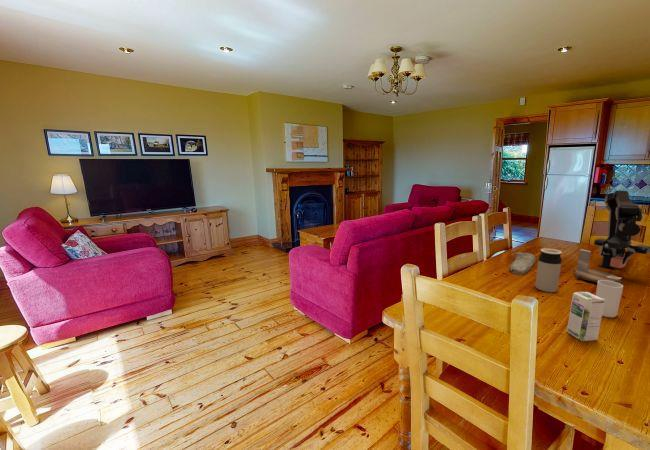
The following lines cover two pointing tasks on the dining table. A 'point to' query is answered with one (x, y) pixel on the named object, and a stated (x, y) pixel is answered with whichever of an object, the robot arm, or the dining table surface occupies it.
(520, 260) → the elongated rock
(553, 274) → the travel mug
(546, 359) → the dining table surface
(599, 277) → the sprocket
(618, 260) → the dusty pink block
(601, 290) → the mug
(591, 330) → the syrup box
